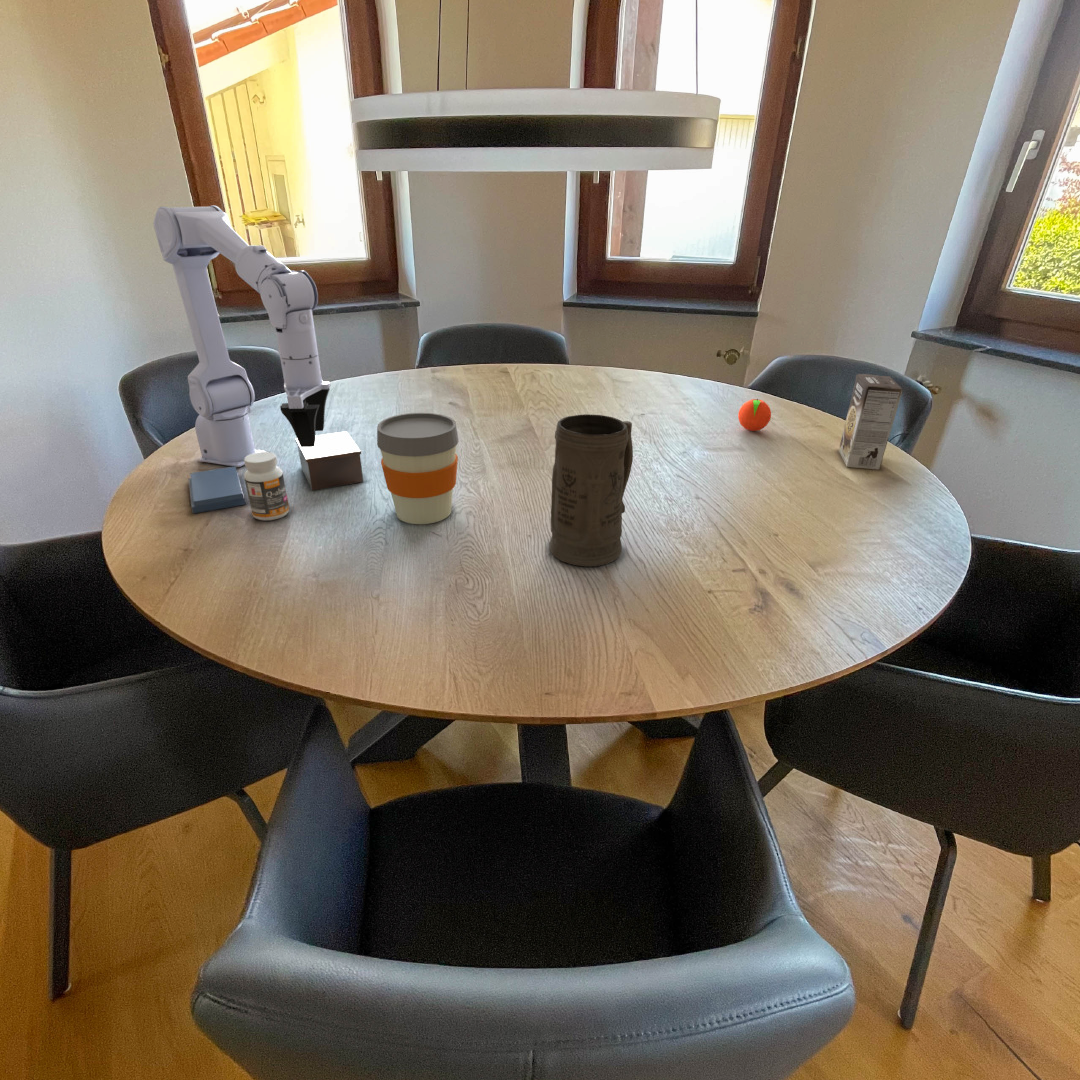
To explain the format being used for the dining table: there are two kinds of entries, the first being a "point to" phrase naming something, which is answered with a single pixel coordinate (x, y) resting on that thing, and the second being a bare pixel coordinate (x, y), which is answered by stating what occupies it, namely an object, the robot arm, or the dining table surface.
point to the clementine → (754, 415)
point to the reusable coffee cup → (419, 464)
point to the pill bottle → (265, 486)
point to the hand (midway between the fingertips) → (312, 438)
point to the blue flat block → (215, 489)
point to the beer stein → (589, 488)
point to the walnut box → (331, 461)
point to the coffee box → (869, 420)
